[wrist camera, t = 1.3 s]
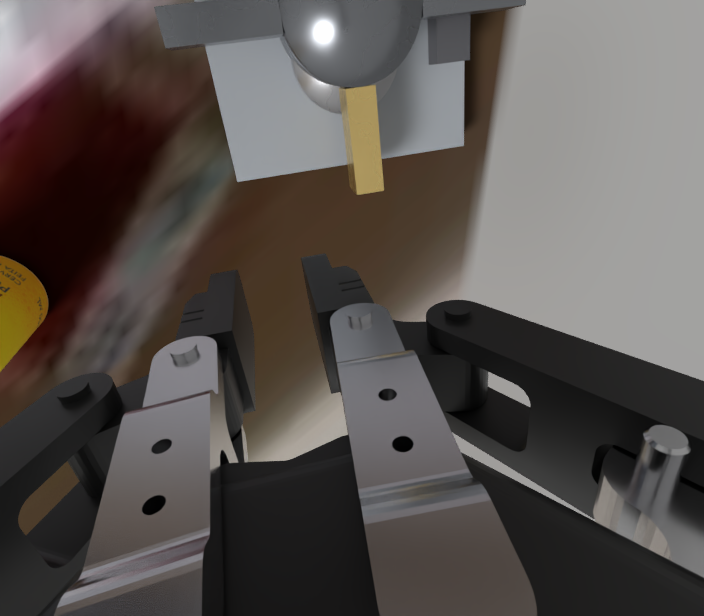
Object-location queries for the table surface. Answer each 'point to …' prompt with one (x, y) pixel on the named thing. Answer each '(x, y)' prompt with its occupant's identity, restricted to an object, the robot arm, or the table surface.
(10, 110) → the table surface
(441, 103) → the stand
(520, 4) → the valve handle
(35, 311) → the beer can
